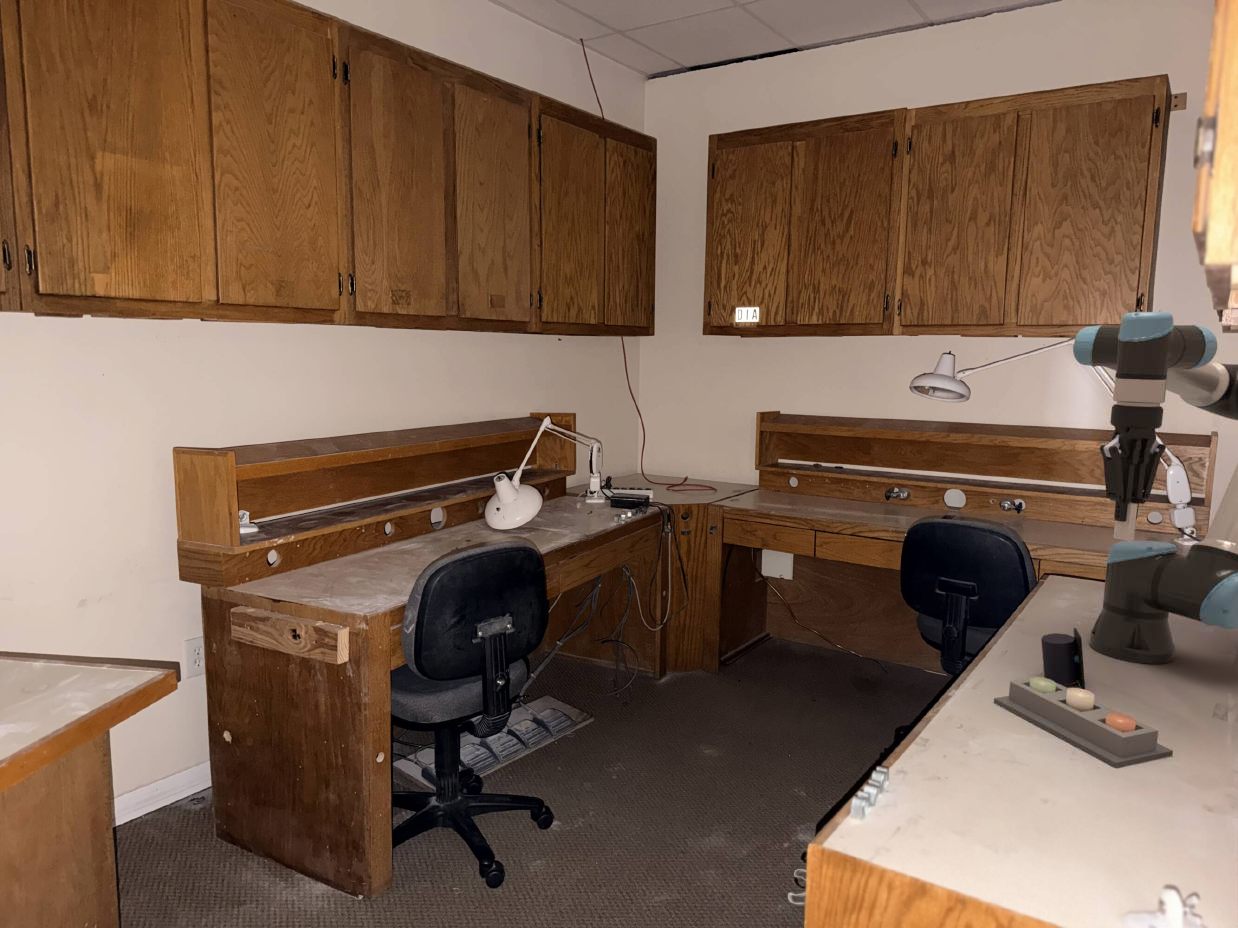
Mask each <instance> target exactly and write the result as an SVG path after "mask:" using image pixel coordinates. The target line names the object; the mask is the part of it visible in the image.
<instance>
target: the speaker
mask: <svg viewBox="0 0 1238 928" xmlns="http://www.w3.org/2000/svg"><path fill="white" fill-rule="evenodd" d="M1040 640H1041V652H1042V663H1043V664H1042V665H1043V677H1045V678H1047V679H1050V680H1052V681H1054V682H1056V683H1058V684H1060V685H1062V686H1067V685H1069V686H1070V685H1073V684H1076V683H1078V685H1079V687H1080V689H1084V690H1086V684H1085V681H1086V680H1085V671H1084V670H1085V667H1084V655H1083V654H1084V653H1083V641H1082V636H1081V635H1080V633H1079V630H1078V629H1077V628H1076V627H1073V635H1070V634H1067V633H1056V632H1055V633H1054V632H1053V633H1048V634H1044V635H1042V637H1041V638H1040Z"/></svg>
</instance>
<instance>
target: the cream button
mask: <svg viewBox="0 0 1238 928" xmlns="http://www.w3.org/2000/svg"><path fill="white" fill-rule="evenodd" d="M1094 701H1095V694H1094V692H1092V691H1090V690H1087V689H1085V690H1084V689H1081V687H1080V688H1079V687H1078V688H1077V687H1068V689H1067V695H1066V705H1067V706H1069V707H1071V708H1073V709H1076V710H1078V711H1080V712H1085V711H1090V710H1093V706H1094Z"/></svg>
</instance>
